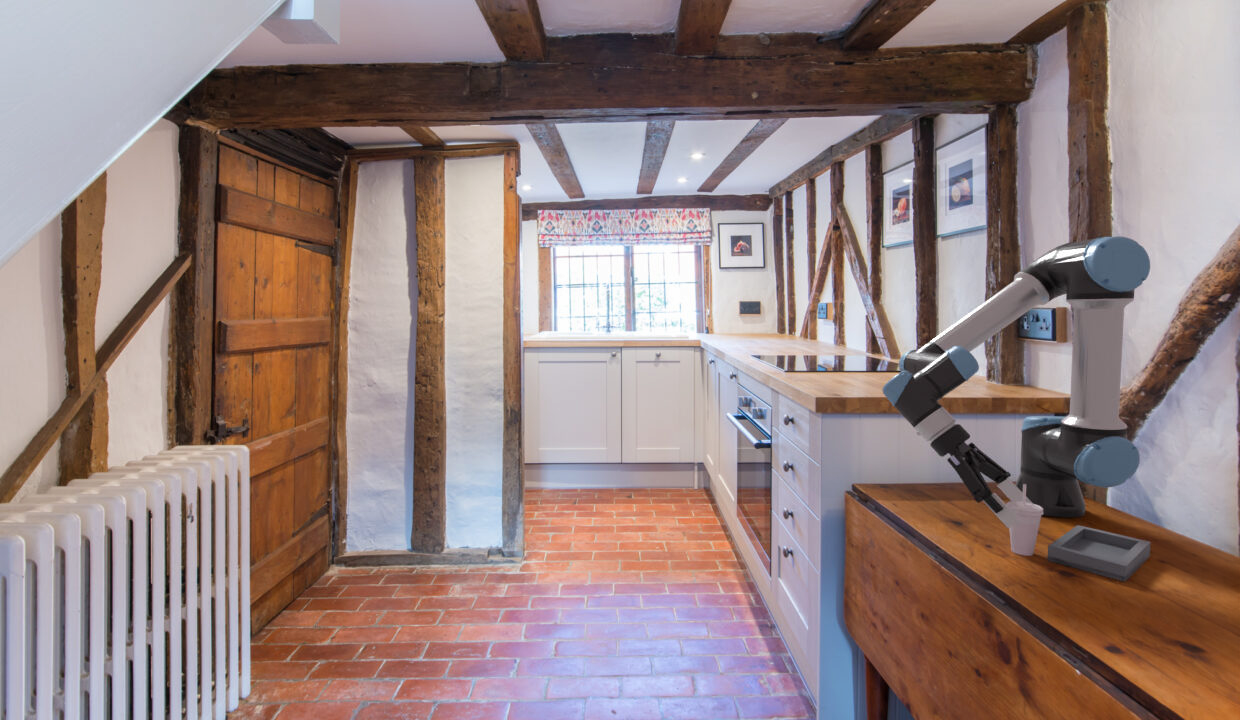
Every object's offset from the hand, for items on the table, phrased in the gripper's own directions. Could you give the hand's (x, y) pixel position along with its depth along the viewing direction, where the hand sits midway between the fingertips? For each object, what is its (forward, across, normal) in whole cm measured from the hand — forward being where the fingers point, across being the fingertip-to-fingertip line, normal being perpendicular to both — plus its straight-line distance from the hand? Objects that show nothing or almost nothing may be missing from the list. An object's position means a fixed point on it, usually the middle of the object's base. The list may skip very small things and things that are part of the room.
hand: (1021, 515), depth 122 cm
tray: (+14, -6, +3) cm, 16 cm away
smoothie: (+6, 0, -5) cm, 8 cm away
